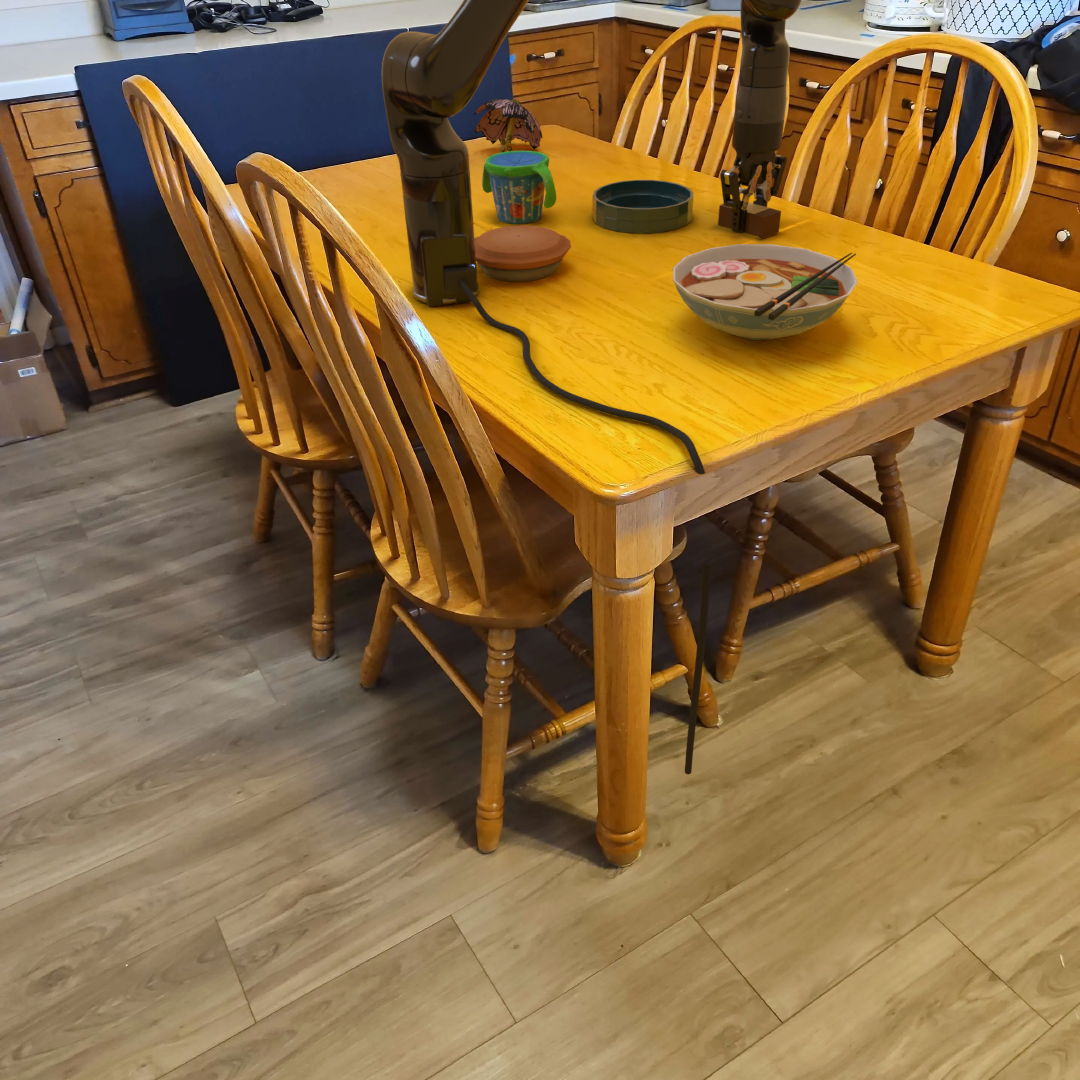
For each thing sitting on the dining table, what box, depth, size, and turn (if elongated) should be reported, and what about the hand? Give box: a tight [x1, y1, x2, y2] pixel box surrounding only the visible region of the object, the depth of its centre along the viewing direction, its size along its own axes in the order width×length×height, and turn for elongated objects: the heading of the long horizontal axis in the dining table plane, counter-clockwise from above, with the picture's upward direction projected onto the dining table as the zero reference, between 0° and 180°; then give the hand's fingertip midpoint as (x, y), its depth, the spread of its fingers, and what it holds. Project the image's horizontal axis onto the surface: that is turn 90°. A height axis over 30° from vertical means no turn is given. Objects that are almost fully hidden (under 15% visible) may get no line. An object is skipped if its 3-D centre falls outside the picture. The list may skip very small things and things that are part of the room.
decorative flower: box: [473, 98, 544, 153], centre depth 196 cm, size 14×12×15 cm
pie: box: [474, 225, 572, 283], centre depth 142 cm, size 15×16×5 cm
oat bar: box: [717, 199, 782, 240], centre depth 153 cm, size 9×4×4 cm, turn 41°
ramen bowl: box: [672, 243, 858, 341], centre depth 121 cm, size 25×23×8 cm
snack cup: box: [481, 150, 557, 225], centre depth 159 cm, size 16×10×10 cm
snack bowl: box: [591, 179, 694, 234], centre depth 159 cm, size 17×17×4 cm
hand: (748, 227), depth 154 cm, fingers closed on oat bar, 4 cm apart
